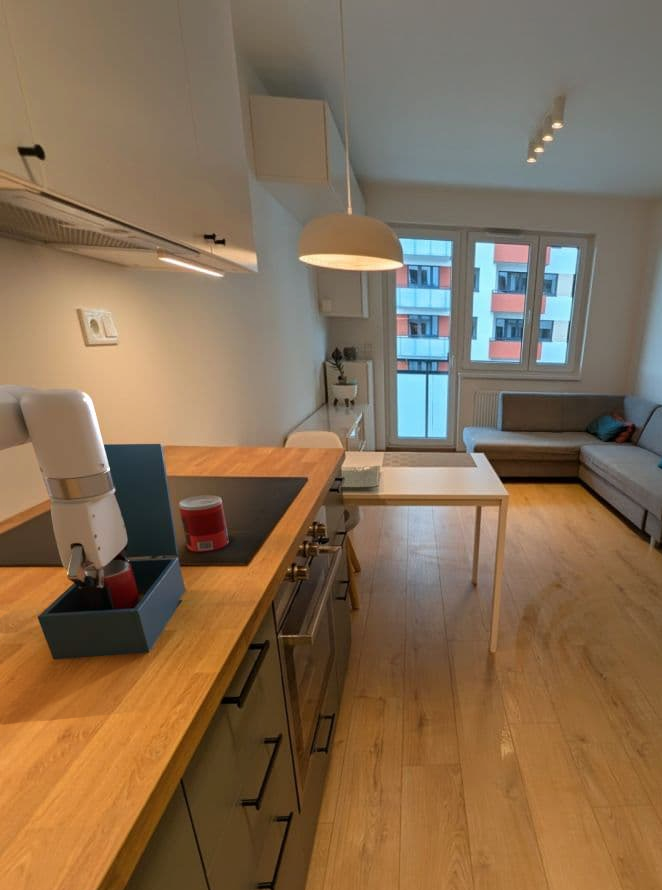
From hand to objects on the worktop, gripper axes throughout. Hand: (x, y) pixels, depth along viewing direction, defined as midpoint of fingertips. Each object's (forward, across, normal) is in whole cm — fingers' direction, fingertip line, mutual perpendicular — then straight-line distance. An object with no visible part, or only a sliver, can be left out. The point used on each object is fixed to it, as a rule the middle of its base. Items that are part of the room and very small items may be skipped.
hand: (112, 596), depth 77 cm
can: (+5, 0, 0) cm, 5 cm away
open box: (+6, -2, 0) cm, 6 cm away
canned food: (+6, -30, +5) cm, 32 cm away
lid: (-11, -12, 0) cm, 16 cm away
